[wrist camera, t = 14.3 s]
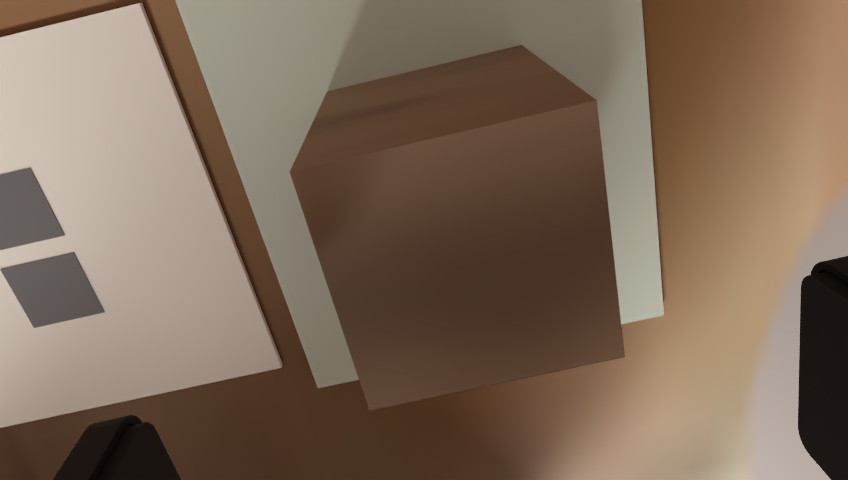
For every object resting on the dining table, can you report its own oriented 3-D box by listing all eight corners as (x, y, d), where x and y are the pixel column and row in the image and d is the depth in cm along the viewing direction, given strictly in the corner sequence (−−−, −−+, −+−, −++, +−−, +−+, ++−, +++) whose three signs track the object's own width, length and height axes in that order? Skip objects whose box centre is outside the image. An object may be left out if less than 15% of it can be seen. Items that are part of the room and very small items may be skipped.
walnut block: (549, 224, 19) (625, 357, 13) (376, 262, 20) (369, 410, 13) (521, 44, 17) (596, 100, 11) (327, 91, 17) (289, 171, 11)
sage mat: (659, 308, 21) (663, 315, 21) (319, 381, 22) (317, 388, 22) (624, -164, 16) (630, -166, 15) (163, -47, 16) (157, -47, 16)
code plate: (282, 364, 22) (281, 368, 21) (-43, 433, 22) (-48, 438, 22) (142, 2, 17) (138, 3, 16) (-274, 105, 17) (-282, 107, 17)
